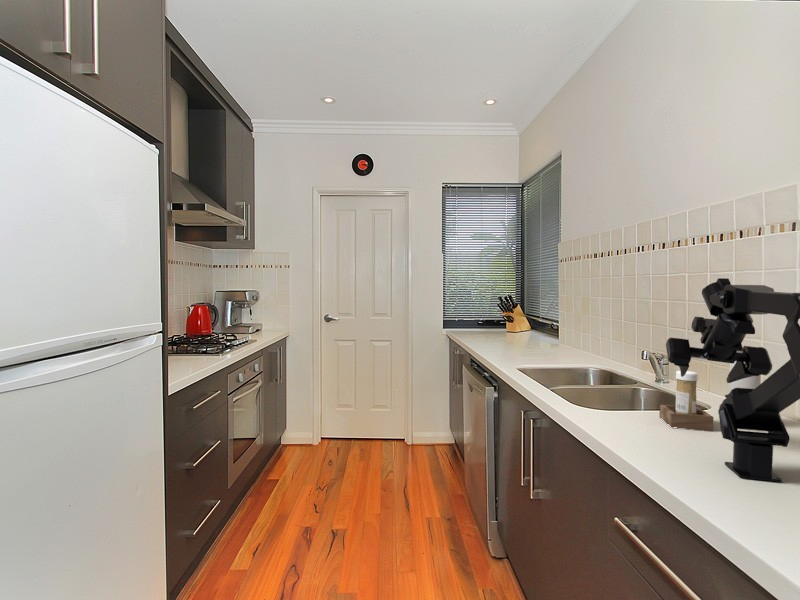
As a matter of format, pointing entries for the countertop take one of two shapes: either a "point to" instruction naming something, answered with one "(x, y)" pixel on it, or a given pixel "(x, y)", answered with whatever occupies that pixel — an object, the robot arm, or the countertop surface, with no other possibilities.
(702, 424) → the walnut collar
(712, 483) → the countertop surface
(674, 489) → the countertop surface
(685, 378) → the sprinkles bottle
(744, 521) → the countertop surface
